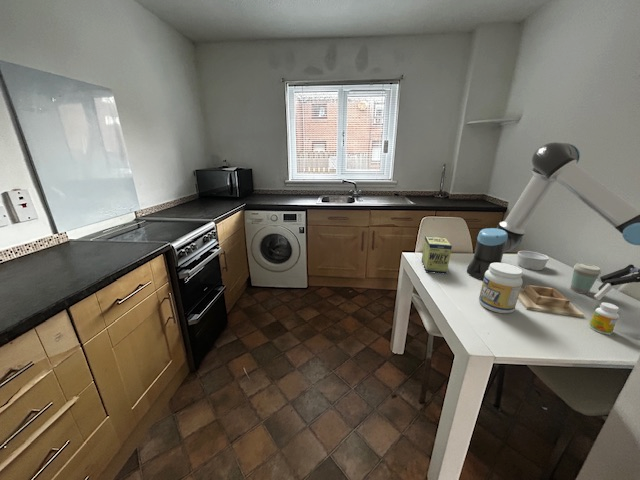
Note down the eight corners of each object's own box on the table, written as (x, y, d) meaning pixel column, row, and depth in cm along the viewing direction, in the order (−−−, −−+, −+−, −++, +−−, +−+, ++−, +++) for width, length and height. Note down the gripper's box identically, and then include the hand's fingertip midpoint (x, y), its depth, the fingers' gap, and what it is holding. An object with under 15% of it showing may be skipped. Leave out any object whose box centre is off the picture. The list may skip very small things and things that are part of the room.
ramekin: (514, 259, 148) (517, 248, 146) (543, 265, 141) (547, 253, 138) (515, 267, 138) (518, 255, 135) (546, 273, 130) (550, 261, 128)
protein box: (425, 272, 130) (429, 244, 126) (420, 261, 145) (424, 235, 140) (447, 274, 128) (452, 246, 123) (440, 262, 143) (444, 236, 138)
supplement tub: (471, 301, 104) (479, 264, 99) (490, 295, 109) (499, 259, 104) (501, 317, 94) (512, 277, 88) (521, 310, 98) (533, 271, 93)
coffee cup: (598, 296, 109) (608, 271, 105) (575, 294, 111) (584, 269, 107) (582, 286, 117) (591, 263, 113) (561, 285, 119) (569, 261, 115)
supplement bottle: (584, 325, 90) (593, 301, 87) (598, 324, 90) (607, 300, 87) (601, 335, 85) (612, 310, 82) (615, 334, 85) (627, 309, 82)
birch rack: (526, 309, 99) (529, 298, 98) (510, 289, 114) (512, 280, 112) (582, 317, 94) (587, 306, 93) (558, 296, 109) (561, 286, 107)
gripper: (737, 287, 73) (681, 338, 75) (622, 256, 96) (580, 295, 98) (735, 273, 71) (677, 326, 72) (617, 244, 94) (575, 285, 95)
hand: (621, 308), depth 85 cm, fingers open, 13 cm apart
